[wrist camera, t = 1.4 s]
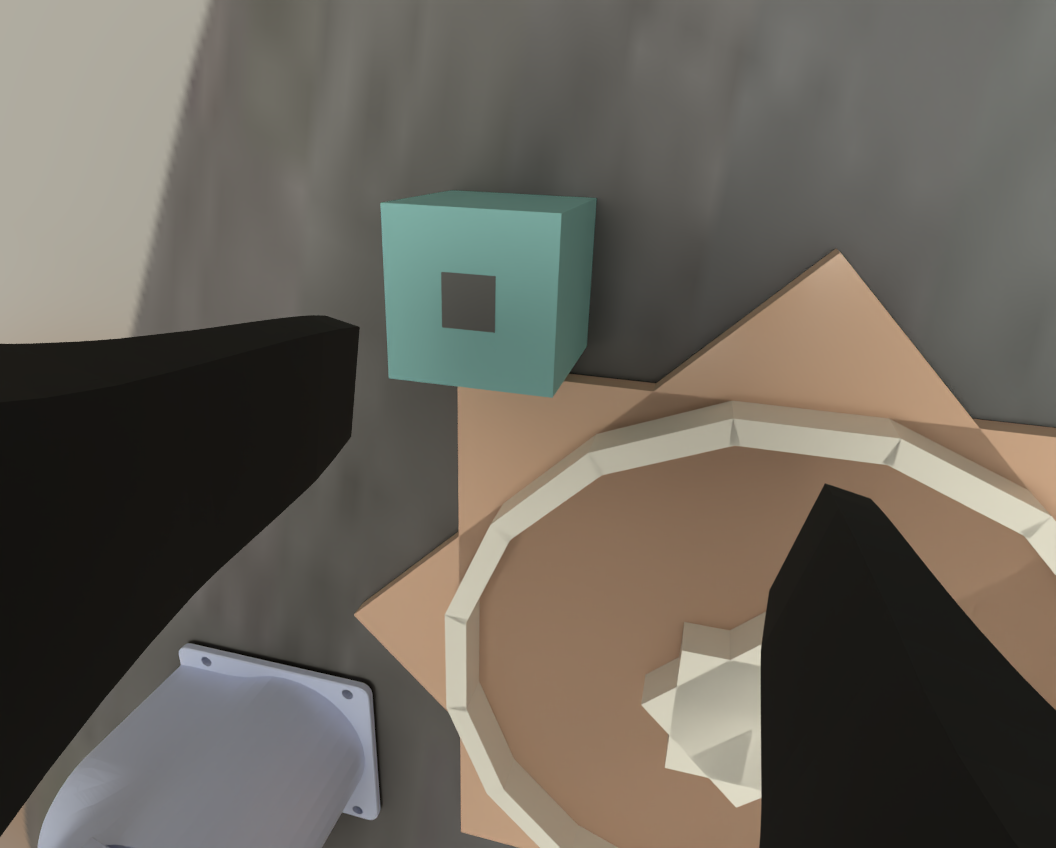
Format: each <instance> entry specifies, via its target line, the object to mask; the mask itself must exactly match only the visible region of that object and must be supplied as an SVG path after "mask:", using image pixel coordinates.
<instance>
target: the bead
mask: <svg viewBox="0 0 1056 848" xmlns="http://www.w3.org/2000/svg"><path fill="white" fill-rule="evenodd" d="M596 202H597V198H587V197H568V196H550V195H531V194H512V193H494V192H475V191H457V190H450V191H445V192H439V193H433V194H427V195H422V196H416V197H410V198H404V199H399V200H393V201H387V202H381V224H382V245H383V266H384V287H385V308H386V329H387V350H388V371H389V378H391V379H399V380H408V381H416V382H424V383H433V384H441V385H449V386H458V387H466V388H474V389H483V390H491V391H499V392H508V393H516V394H524V395H533V396H541V397H549V398H553V396H554V395H555V393H556V392H557V390H558V389H559V387H560V386H561V384H562V383H563V381H564V380H565V378H566V377H567V375H568V374H569V372H570V371H571V369H572V368H573V367H574V365H575V364H576V362H577V361H578V359H579V358H580V356H581V355H582V353H583V352H584V350H585V349H586V347H587V337H588V322H589V307H590V292H591V277H592V262H593V247H594V232H595V217H596Z"/></svg>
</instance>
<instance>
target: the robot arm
mask: <svg viewBox="0 0 1056 848" xmlns="http://www.w3.org/2000/svg"><path fill="white" fill-rule="evenodd" d="M358 340H359V327H358V326H355V325H352V324H349V323H346V322H343V321H340V320H337V319H334V318H331V317H328V316H298V317H288V318H279V319H271V320H264V321H256V322H249V323H242V324H235V325H228V326H221V327H214V328H206V329H199V330H192V331H183V332H174V333H165V334H157V335H148V336H139V337H130V338H122V339H109V340H98V341H82V342H63V343H62V342H60V343H36V344H0V836H1V835H2V834H3V832H4V831H5V830H6V828H7V827H8V825H9V824H10V822H11V821H12V820H13V818H14V817H15V816H16V814H17V813H18V812H19V810H20V809H21V807H22V806H23V805H24V803H25V802H26V801H27V799H28V798H29V796H30V795H31V794H32V792H33V791H34V790H35V788H36V787H37V785H38V784H39V783H40V781H41V780H42V779H43V777H44V776H45V774H46V773H47V772H48V770H49V769H50V768H51V766H52V765H53V764H54V763H55V761H56V760H57V759H58V757H59V756H60V755H61V754H62V752H63V751H64V750H65V748H66V747H67V746H68V745H69V743H70V742H71V741H72V739H73V738H74V737H75V736H76V734H77V733H78V732H79V730H80V729H81V728H82V727H83V725H84V724H85V723H86V721H87V720H88V719H89V718H90V716H91V715H92V714H93V712H94V711H95V710H96V709H97V707H98V706H99V705H100V703H101V702H102V701H103V700H104V698H105V697H106V696H107V695H108V694H109V692H110V691H111V690H112V689H113V688H114V686H115V685H116V684H117V683H118V682H119V680H120V679H121V678H122V677H123V676H124V674H125V673H126V672H127V671H128V670H129V668H130V667H131V666H132V665H133V664H134V662H135V661H136V660H137V659H138V658H139V656H140V655H141V654H142V653H143V652H144V650H145V649H146V648H147V647H148V646H149V644H150V643H151V642H152V641H153V640H154V639H155V638H156V637H157V635H158V634H159V633H160V632H161V631H162V630H163V629H164V627H165V626H166V625H167V624H168V623H169V622H170V621H171V620H172V618H173V617H174V616H175V615H176V614H177V613H178V612H179V611H180V609H181V608H182V607H183V606H184V605H185V604H186V603H187V602H188V600H189V599H190V598H191V597H192V596H193V595H194V594H195V593H196V592H197V591H198V590H199V589H200V588H201V587H202V586H203V585H204V584H205V583H206V582H207V581H208V580H209V579H210V578H211V577H212V576H213V575H214V574H215V573H216V572H217V571H218V570H219V569H220V568H221V567H222V566H223V565H225V564H226V563H227V562H228V561H229V560H230V559H231V558H232V557H233V556H235V555H236V554H237V553H238V552H239V551H240V550H241V549H242V548H243V547H244V546H246V545H247V544H248V543H249V542H250V541H251V540H252V539H253V538H254V537H255V536H257V535H258V534H259V533H260V532H261V531H262V530H263V529H264V528H265V527H266V526H268V525H269V524H270V523H271V522H272V521H273V520H274V519H275V518H276V517H277V516H279V515H280V514H281V513H282V512H283V511H284V510H285V509H286V508H287V507H288V506H289V505H290V504H292V503H293V502H294V501H295V500H296V499H297V498H298V497H299V496H300V495H301V494H302V493H303V492H304V491H306V490H307V489H308V488H309V487H310V486H311V485H312V484H313V483H314V482H315V481H316V480H317V479H318V477H319V476H320V475H321V474H322V473H323V472H324V470H325V469H326V468H327V467H328V466H329V464H330V463H331V462H332V461H333V459H334V458H335V457H336V456H337V454H338V453H339V452H340V450H341V449H342V448H343V446H344V445H345V444H346V443H347V441H348V440H349V439H350V437H351V431H352V418H353V405H354V392H355V379H356V366H357V353H358ZM179 658H180V663H181V665H180V666H179V667H178V668H177V669H176V670H175V671H174V672H173V673H172V674H171V675H170V676H169V677H168V678H167V679H166V680H165V681H164V682H163V683H162V684H161V685H160V686H159V687H158V688H157V689H155V690H154V691H153V692H152V693H151V694H150V695H149V696H148V697H147V698H146V699H145V700H144V701H143V702H142V703H141V704H140V705H139V706H138V707H137V708H136V709H135V710H134V711H133V712H132V713H131V714H130V715H129V716H127V717H126V718H125V719H124V720H123V721H122V722H121V723H120V724H119V725H118V726H117V727H116V728H115V729H114V730H113V731H112V732H111V733H110V734H109V735H108V736H107V737H106V738H105V739H104V740H103V741H102V742H100V743H99V744H98V745H97V746H96V747H95V748H94V749H93V750H92V751H91V752H90V753H89V754H88V755H87V756H86V757H85V758H84V759H83V760H82V761H81V762H80V763H79V765H78V766H77V767H76V768H75V769H74V771H73V772H72V773H71V774H70V776H69V777H68V778H67V780H66V781H65V783H64V784H63V786H62V787H61V789H60V790H59V792H58V794H57V796H56V797H55V799H54V801H53V803H52V805H51V806H50V808H49V811H48V813H47V815H46V817H45V820H44V822H43V825H42V828H41V832H40V836H39V841H38V848H322V847H323V845H324V843H325V842H326V840H327V838H328V836H329V834H330V833H331V831H332V829H333V827H334V826H335V824H336V822H337V820H338V819H339V817H340V815H341V813H346V814H350V815H353V816H357V817H361V818H364V819H368V820H373V819H376V818H377V817H378V815H379V813H380V809H381V808H380V794H379V780H378V766H377V752H376V738H375V723H374V709H373V695H372V691H371V689H370V687H369V686H368V685H366V684H365V683H362V682H358V681H354V680H350V679H345V678H341V677H336V676H332V675H328V674H323V673H319V672H314V671H310V670H306V669H301V668H297V667H293V666H288V665H284V664H279V663H275V662H271V661H266V660H262V659H257V658H253V657H249V656H244V655H240V654H236V653H231V652H227V651H222V650H218V649H214V648H209V647H205V646H200V645H196V644H192V643H187V644H185V645H184V646H183V647H182V648H181V649H180V650H179ZM348 690H349V691H350V692H349V691H348ZM759 848H1056V710H1055V709H1054V708H1053V707H1052V706H1051V705H1050V704H1049V703H1048V702H1047V701H1046V700H1045V699H1044V698H1043V697H1042V696H1041V695H1040V694H1039V693H1038V692H1037V691H1036V690H1035V689H1034V688H1033V687H1032V686H1031V685H1030V684H1029V683H1028V682H1027V681H1026V680H1025V679H1024V678H1023V677H1022V676H1021V674H1020V673H1019V672H1018V671H1017V670H1016V669H1015V668H1014V667H1013V666H1012V665H1011V664H1010V663H1009V661H1008V660H1007V659H1006V658H1005V657H1004V656H1003V655H1002V654H1001V653H1000V652H999V650H998V649H997V648H996V647H995V646H994V645H993V644H992V643H991V642H990V641H989V639H988V638H987V637H986V636H985V635H984V634H983V633H982V632H981V631H980V630H979V628H978V627H977V626H976V625H975V624H974V623H973V621H972V620H971V619H970V618H969V617H968V616H967V614H966V613H965V612H964V611H963V610H962V609H961V607H960V606H959V605H958V604H957V603H956V601H955V600H954V599H953V598H952V597H951V595H950V594H949V593H948V592H947V591H946V589H945V588H944V587H943V586H942V584H941V583H940V582H939V581H938V580H937V578H936V577H935V576H934V575H933V573H932V572H931V571H930V570H929V568H928V567H927V566H926V565H925V563H924V562H923V561H922V560H921V558H920V557H919V556H918V555H917V553H916V552H915V551H914V549H913V548H912V547H911V546H910V544H909V543H908V542H907V541H906V539H905V538H904V537H903V536H902V534H901V533H900V532H899V531H898V529H897V528H896V527H895V526H894V524H893V523H892V522H891V521H890V519H889V518H888V517H887V516H886V515H885V514H884V512H883V511H882V510H881V509H880V508H879V507H878V506H877V505H876V504H875V503H874V502H873V500H872V499H870V498H868V497H865V496H862V495H859V494H856V493H853V492H850V491H847V490H844V489H841V488H838V487H835V486H832V485H829V484H826V483H825V484H824V486H823V488H822V490H821V492H820V494H819V496H818V498H817V500H816V501H815V503H814V505H813V507H812V509H811V511H810V513H809V515H808V517H807V519H806V521H805V523H804V525H803V526H802V528H801V530H800V532H799V534H798V536H797V538H796V540H795V542H794V544H793V546H792V548H791V550H790V552H789V553H788V555H787V557H786V559H785V561H784V563H783V565H782V567H781V569H780V571H779V573H778V575H777V577H776V578H775V580H774V582H773V584H772V586H771V588H770V590H769V596H768V602H767V609H766V615H765V622H764V629H763V637H762V645H761V827H760V844H759Z"/></svg>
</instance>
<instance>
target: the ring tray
mask: <svg viewBox="0 0 1056 848" xmlns="http://www.w3.org/2000/svg"><path fill="white" fill-rule="evenodd" d="M825 483H826V484H829V485H832V486H835V487H838V488H841V489H844V490H847V491H850V492H853V493H856V494H859V495H862V496H865V497H868V498H870V499H872V500H873V502H874V503H875V504H876V505H877V506H878V507H879V508H880V509H881V510H882V511H883V512H884V514H885V515H886V516H887V517H888V518H889V519H890V521H891V522H892V523H893V524H894V526H895V527H896V528H897V529H898V531H899V532H900V533H901V534H902V536H903V537H904V538H905V539H906V541H907V542H908V543H909V544H910V546H911V547H912V548H913V549H914V551H915V552H916V553H917V555H918V556H919V557H920V558H921V560H922V561H923V562H924V563H925V565H926V566H927V567H928V568H929V570H930V571H931V572H932V573H933V575H934V576H935V577H936V578H937V580H938V581H939V582H940V583H941V584H942V586H943V587H944V588H945V589H946V591H947V592H948V593H949V594H950V595H951V597H952V598H953V599H954V600H955V601H956V603H957V604H958V605H959V606H960V607H961V609H962V610H963V611H964V612H965V613H966V614H967V616H968V617H969V618H970V619H971V620H972V621H973V623H974V624H975V625H976V626H977V627H978V628H979V630H980V631H981V632H982V633H983V634H984V635H985V636H986V637H987V638H988V639H989V641H990V642H991V643H992V644H993V645H994V646H995V647H996V648H997V649H998V650H999V652H1000V653H1001V654H1002V655H1003V656H1004V657H1005V658H1006V659H1007V660H1008V661H1009V663H1010V664H1011V665H1012V666H1013V667H1014V668H1015V669H1016V670H1017V671H1018V672H1019V673H1020V674H1021V676H1022V677H1023V678H1024V679H1025V680H1026V681H1027V682H1028V683H1029V684H1030V685H1031V686H1032V687H1033V688H1034V689H1035V690H1036V691H1037V692H1038V693H1039V694H1040V695H1041V696H1042V697H1043V698H1044V699H1045V700H1046V701H1047V702H1048V703H1049V704H1050V705H1051V706H1052V707H1053V708H1054V709H1055V710H1056V428H1052V427H1043V426H1034V425H1025V424H1016V423H1007V422H998V421H989V420H980V419H972V418H971V417H970V415H969V414H968V413H967V412H966V410H965V409H964V408H963V407H962V405H961V404H960V403H959V401H958V400H957V399H956V398H955V396H954V395H953V394H952V393H951V391H950V390H949V389H948V388H947V386H946V385H945V384H944V383H943V381H942V380H941V379H940V377H939V376H938V375H937V374H936V372H935V371H934V370H933V369H932V367H931V366H930V365H929V364H928V362H927V361H926V360H925V359H924V357H923V356H922V355H921V353H920V352H919V351H918V350H917V348H916V347H915V346H914V345H913V343H912V342H911V341H910V340H909V338H908V337H907V336H906V335H905V333H904V332H903V331H902V330H901V328H900V327H899V326H898V324H897V323H896V322H895V321H894V319H893V318H892V317H891V316H890V314H889V313H888V312H887V311H886V309H885V308H884V307H883V306H882V304H881V303H880V302H879V300H878V299H877V298H876V297H875V295H874V294H873V293H872V292H871V290H870V289H869V288H868V287H867V285H866V284H865V283H864V282H863V280H862V279H861V278H860V276H859V275H858V274H857V273H856V271H855V270H854V269H853V268H852V266H851V265H850V264H849V263H848V261H847V260H846V259H845V258H844V256H843V255H842V254H841V252H839V251H838V250H837V249H834V250H833V251H832V252H830V253H829V254H828V255H826V256H825V257H824V258H822V259H821V260H820V261H818V262H817V263H816V264H814V265H813V266H812V267H810V268H809V269H808V270H806V271H805V272H804V273H802V274H801V275H800V276H798V277H797V278H796V279H794V280H793V281H792V282H790V283H789V284H788V285H786V286H785V287H784V288H782V289H781V290H780V291H778V292H777V293H776V294H774V295H773V296H772V297H770V298H769V299H768V300H766V301H765V302H764V303H762V304H761V305H760V306H758V307H757V308H756V309H754V310H753V311H752V312H750V313H749V314H748V315H746V316H745V317H744V318H742V319H741V320H740V321H738V322H737V323H736V324H734V325H733V326H732V327H730V328H729V329H728V330H726V331H725V332H724V333H722V334H721V335H720V336H718V337H717V338H716V339H714V340H713V341H712V342H710V343H709V344H708V345H706V346H705V347H704V348H702V349H701V350H700V351H698V352H697V353H696V354H694V355H693V356H692V357H690V358H689V359H688V360H686V361H685V362H684V363H682V364H681V365H680V366H678V367H677V368H676V369H674V370H673V371H672V372H670V373H669V374H668V375H666V376H665V377H664V378H662V379H661V380H660V381H658V382H657V383H649V382H640V381H631V380H622V379H613V378H604V377H595V376H586V375H577V374H568V375H567V377H566V378H565V380H564V381H563V383H562V384H561V386H560V387H559V389H558V390H557V392H556V393H555V395H554V396H553V398H549V397H541V396H533V395H524V394H516V393H508V392H499V391H491V390H483V389H474V388H466V387H458V500H459V531H458V532H457V533H456V534H454V535H453V536H452V537H450V538H449V539H448V540H446V541H445V542H444V543H442V544H441V545H440V546H438V547H437V548H436V549H434V550H433V551H432V552H430V553H429V554H428V555H426V556H425V557H424V558H422V559H421V560H420V561H418V562H417V563H416V564H414V565H413V566H412V567H410V568H409V569H408V570H406V571H405V572H404V573H402V574H401V575H400V576H398V577H397V578H396V579H394V580H393V581H392V582H390V583H389V584H388V585H386V586H385V587H384V588H382V589H381V590H380V591H378V592H377V593H376V594H374V595H373V596H372V597H370V598H369V599H368V600H366V601H365V602H364V603H363V604H362V605H361V606H360V607H359V609H358V610H357V611H356V613H355V614H354V616H355V617H356V618H357V619H358V620H359V621H360V622H361V623H362V624H363V625H364V626H365V627H366V628H367V629H368V630H369V631H370V632H371V633H372V634H373V635H374V636H375V637H376V638H377V639H378V640H379V641H380V642H381V643H382V645H383V646H384V647H385V648H386V649H387V650H388V651H389V652H390V653H391V654H392V655H393V656H394V657H395V658H396V659H397V660H398V661H399V662H400V663H401V664H402V665H403V666H404V667H405V668H406V669H407V670H408V671H409V672H410V673H411V674H412V675H413V676H414V677H415V678H416V679H417V680H418V682H419V683H420V684H421V685H422V686H423V687H424V688H425V689H426V690H427V691H428V692H429V693H430V694H431V695H432V696H433V697H434V698H435V699H436V700H437V701H438V702H439V703H440V704H441V705H442V706H443V707H444V708H445V709H446V710H447V711H448V712H449V714H450V717H451V719H452V721H453V723H454V725H455V727H456V729H457V731H458V734H459V736H460V753H461V832H463V833H467V834H471V835H474V836H478V837H482V838H485V839H489V840H493V841H496V842H500V843H504V844H508V845H511V846H515V847H519V848H759V844H760V827H761V645H762V637H763V629H764V622H765V615H766V609H767V602H768V596H769V590H770V588H771V586H772V584H773V582H774V580H775V578H776V577H777V575H778V573H779V571H780V569H781V567H782V565H783V563H784V561H785V559H786V557H787V555H788V553H789V552H790V550H791V548H792V546H793V544H794V542H795V540H796V538H797V536H798V534H799V532H800V530H801V528H802V526H803V525H804V523H805V521H806V519H807V517H808V515H809V513H810V511H811V509H812V507H813V505H814V503H815V501H816V500H817V498H818V496H819V494H820V492H821V490H822V488H823V486H824V484H825Z"/></svg>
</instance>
